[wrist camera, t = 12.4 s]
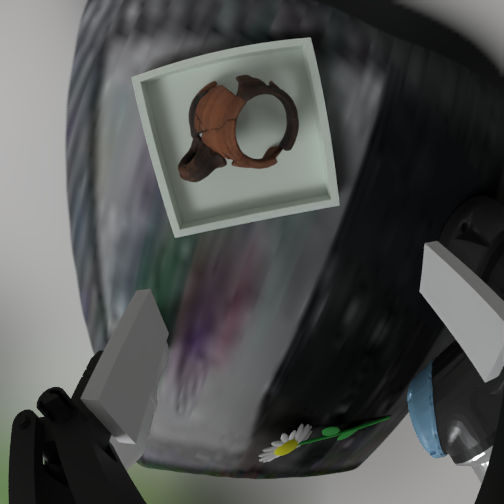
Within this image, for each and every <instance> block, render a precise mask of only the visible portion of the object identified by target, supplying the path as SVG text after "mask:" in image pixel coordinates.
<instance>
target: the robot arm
mask: <svg viewBox="0 0 504 504" xmlns="http://www.w3.org/2000/svg"><path fill="white" fill-rule="evenodd" d="M420 293H421V294H422V295H423V296H424V298H425V299H426V300H427V302H428V303H429V304H430V305H431V307H432V308H433V309H434V311H435V312H436V313H437V314H438V316H439V317H440V318H441V320H442V321H443V322H444V324H445V325H446V326H447V328H448V329H449V331H450V332H451V333H452V335H453V336H454V337H455V339H456V340H455V341H454V342H453V343H452V344H450V345H449V346H448V347H447V348H446V349H445V350H444V351H443V352H442V353H441V354H440V355H439V356H438V357H436V358H434V359H432V360H431V361H430V363H429V365H428V366H427V367H426V368H425V369H423V370H422V371H421V372H420V373H419V374H418V375H417V376H416V377H415V378H414V379H413V380H412V382H411V383H410V385H409V388H408V394H407V400H408V409H409V413H410V417H411V421H412V423H413V427H414V429H415V432H416V434H417V436H418V438H419V440H420V442H421V444H422V446H423V447H424V448H425V450H426V451H427V452H429V453H430V455H431V456H432V457H434V458H440V457H445V456H446V455H447V454H449V455H450V456H451V458H452V460H453V461H454V463H455V464H456V465H458V466H471V467H472V468H473V469H474V471H475V473H476V475H477V476H478V478H479V480H480V482H481V483H482V485H481V488H480V491H479V493H478V496H477V499H476V501H475V504H504V206H503V205H502V204H501V203H499V202H498V201H496V200H494V199H492V198H490V197H488V196H476V197H473V198H470V199H469V200H467V201H465V202H464V203H463V204H461V205H460V206H459V207H458V208H457V209H456V210H455V211H454V213H453V214H452V215H451V217H450V218H449V220H448V221H447V223H446V225H445V227H444V229H443V231H442V233H441V236H440V239H439V242H438V241H435V242H429V243H425V246H424V258H423V268H422V277H421V285H420ZM168 335H169V333H168V330H167V328H166V326H165V323H164V321H163V319H162V316H161V314H160V311H159V309H158V306H157V304H156V302H155V299H154V296H153V294H152V291H151V289H146V290H138V291H136V292H135V294H134V296H133V298H132V299H131V301H130V303H129V305H128V307H127V308H126V310H125V312H124V314H123V316H122V317H121V319H120V321H119V323H118V325H117V327H116V328H115V330H114V332H113V334H112V336H111V338H110V340H109V342H108V344H107V345H106V347H105V349H104V351H98V352H97V353H96V354H95V355H94V356H93V357H92V358H91V360H90V362H89V364H88V366H87V370H85V372H84V373H83V377H82V378H81V379H80V381H79V384H78V385H77V388H76V390H75V391H74V394H73V396H72V398H71V399H70V397H69V396H68V395H67V394H66V392H65V391H64V390H63V389H62V388H60V387H53V388H50V389H48V390H46V391H45V392H43V394H42V395H41V396H40V397H39V399H38V401H37V409H38V410H39V411H40V412H41V413H42V414H43V415H44V416H45V417H40V418H39V417H38V416H37V415H36V414H35V413H34V412H33V411H31V410H24V411H22V412H20V413H19V414H18V415H17V416H16V417H15V419H14V421H13V425H12V433H11V444H10V458H9V504H146V502H145V501H144V499H143V498H142V496H141V494H140V493H139V491H138V490H137V488H136V486H135V485H134V483H133V481H132V480H131V478H130V476H129V475H128V473H127V471H126V469H125V467H124V466H123V464H122V462H121V460H120V458H119V456H118V454H117V453H116V451H115V449H114V447H113V445H112V444H111V443H110V442H109V441H110V438H111V435H112V436H113V437H114V438H115V439H116V440H117V441H118V442H120V443H129V444H136V442H137V439H138V435H139V431H140V428H141V424H142V420H143V417H144V413H145V410H146V406H147V403H148V399H149V396H150V393H151V389H152V386H153V382H154V379H155V376H156V373H157V369H158V366H159V363H160V360H161V357H162V353H163V350H164V347H165V344H166V341H167V338H168ZM43 459H44V460H45V461H44V462H45V463H44V465H43Z"/></svg>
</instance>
